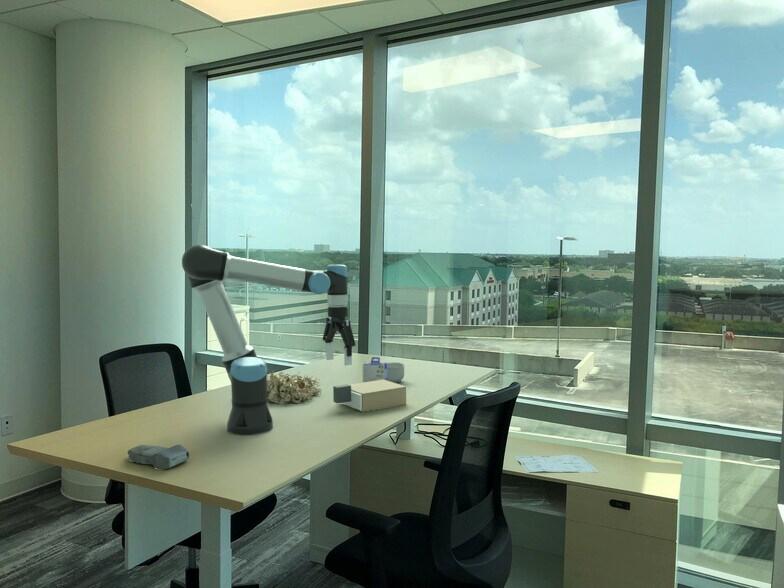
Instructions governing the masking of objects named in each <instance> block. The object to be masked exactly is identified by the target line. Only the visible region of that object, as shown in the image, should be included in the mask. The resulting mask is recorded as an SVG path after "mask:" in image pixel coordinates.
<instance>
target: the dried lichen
mask: <svg viewBox="0 0 784 588" xmlns="http://www.w3.org/2000/svg"><path fill="white" fill-rule="evenodd" d="M280 371H281V372H278V373H277V374H274V369H273V370H272V372H269V373H267V403H275V404H280V405H285V404H289V403H290V404H294V403H296V404H301V402H303V401H305V402H310V401H309V400H311V401H312V400H313V396H314V395H317V394H319V395H322V388H320V387H319V386H320V385H321V382H319V381H321V379H320V378H319V379H318V377H314V378H313V376H311V377H309V375H307V376H306V375H304V376H302V375H299V374H300V373H301V371H299V372H298V373H297V374H289V373H287V374H285V373H286V372H285V371H284V372H283V370H280ZM317 396H318V395H317Z"/></svg>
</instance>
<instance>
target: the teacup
mask: <svg viewBox="0 0 784 588" xmlns="http://www.w3.org/2000/svg"><path fill="white" fill-rule="evenodd" d="M386 363H387V381H390V382H393V383H396V384H398V383H400V382H401V381H402V380H403V379H404V377H405V363H403V362H386ZM397 382H398V383H397Z"/></svg>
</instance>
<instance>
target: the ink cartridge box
mask: <svg viewBox="0 0 784 588" xmlns="http://www.w3.org/2000/svg"><path fill="white" fill-rule="evenodd" d="M380 359H381V358H380V357H378V356H377V357H376V356H375V357H374V356H371V359H370V362H366V361H365V362H364V363H363V364H362V383H363V382H370V381H377V380H387V363H388V362H380V361H381V360H380Z"/></svg>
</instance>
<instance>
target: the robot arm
mask: <svg viewBox="0 0 784 588" xmlns="http://www.w3.org/2000/svg"><path fill="white" fill-rule="evenodd" d="M181 267H182V269H183V271H184V272H185V274H186V277H187V279H188V281H189V284H190V287H191V288H192V290H195V291H197V292H198V295H199V297H200V299H201V301H202V304H203V306H204V309H205V312H206V313H207V316H208V319H209V320H210V323H211V325H212V328H213V331H214V332H215V335H216V338H217V340H218V343H219V345H220V347H221V350H222V351H223V356H222V358H221V362H222V363H223V366H224V368H225V371H226V373H227V376H228V378H229V380H230V384H231V409H230V413H229V415H228V420H227V423H226V429H227V432H228V433H230V434H232V435H233V434H234V435H239V436H240V435H242V436H243V435H245V436H246V435H248V436H249V435H257V434H258V435H259V434H262V433H266V432H269V431H270V430H272V429H273V427H274V423H273V422H274V421H273V417H272V414H271V412H270V409H269V406H268V402H267V374H268V367H267V362H266V361H265V360H264V359H262V358H261V357H260V358H259V357H258V356H257V353H256V351H255V349H254V346H252V345H249V344H248V342H247V341H246V338H245V336H244V333H243V330H242V328H241V326H240V324H239V321H238V318H237V316H236V313H235V311H234V308H233V305H232V303H231V302H230V298H229V297H228V294H227V290H226V289H225V286H224V284H223V282H224V281H226V280H233V281H238V282H239V281H240V282H246V283H252V284H258V285H264V286H269V287H270V286H271V287H276V288H281V289H282V288H283V289H289V290H294V291H297V292H303V293H304V292H306V293H313V294H315V295H322V294H325V293H327V306H328V307H327V316H328V317H325V319H326V320H325V321H326V322H325V327H324V331H323V335H322V341H324V342H325V346H326V347H325V351H326V352H325V353H326V354H325V356H326V361H331V360H334V357H335V356H334V338H335V335H336V333H337V332H338V333H339V335H340V336H341V339H342V341H343V343H344V348H343V349H344V350H343V351H344V352H343V354H344V355H343V356H344V357H343V358H344V361H343V362H344V366H351V365H353V351H352V350H353V347H356V342H355V337H354V333H353V328H352V327H351V326H352V325H351V320H350V319H347V320H346V317H348V316H349V308H348V306H347V305H348V301H349V297H348V277H349V276H348V269H347V266H346V265H345V264H327V266H326V269H324V270H312V269H311V270H310V269H306V268H301V267H300V268H299V267H294V266H289V265H281V264H277V263H272V262H265V261H260V260H254V259H249V258H243V257H237V256H233V255H230V252H225V251H222V250H218V249H215V248H211V247H209V246H208V245H205V244H196V245H193V246H190V247H188V248H187V249H186V250H185V251H184V252H183V254H182V257H181Z"/></svg>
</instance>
